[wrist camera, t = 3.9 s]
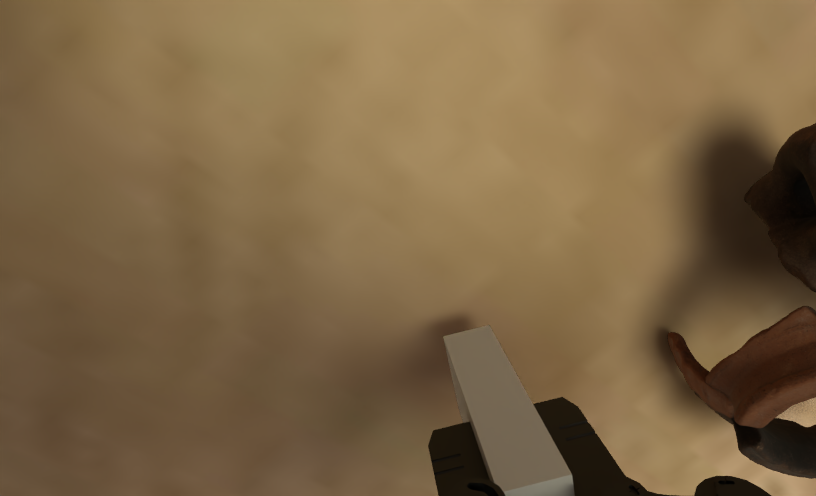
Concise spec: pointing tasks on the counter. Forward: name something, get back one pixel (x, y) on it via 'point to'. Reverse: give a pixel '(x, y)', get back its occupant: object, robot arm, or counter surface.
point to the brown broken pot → (773, 328)
